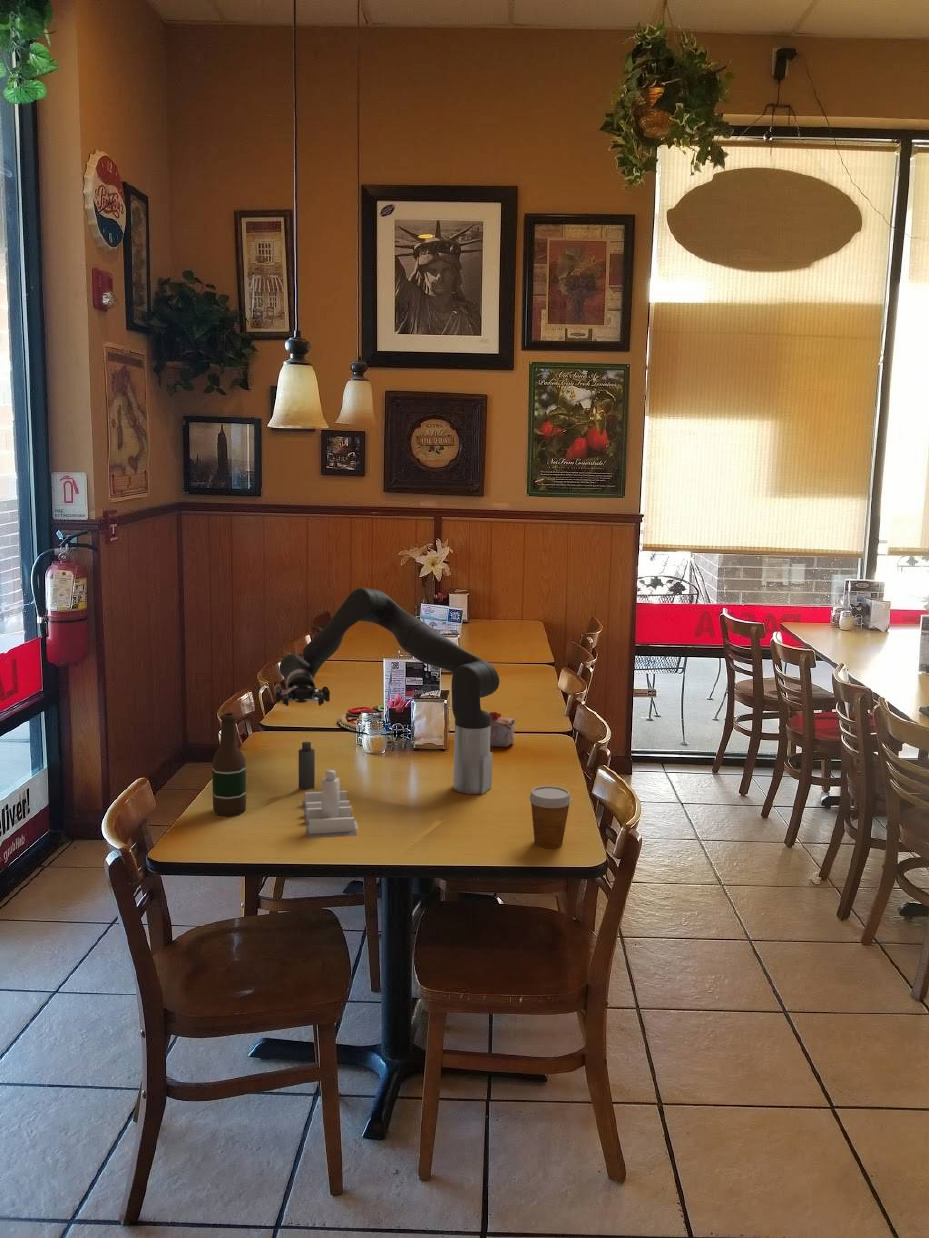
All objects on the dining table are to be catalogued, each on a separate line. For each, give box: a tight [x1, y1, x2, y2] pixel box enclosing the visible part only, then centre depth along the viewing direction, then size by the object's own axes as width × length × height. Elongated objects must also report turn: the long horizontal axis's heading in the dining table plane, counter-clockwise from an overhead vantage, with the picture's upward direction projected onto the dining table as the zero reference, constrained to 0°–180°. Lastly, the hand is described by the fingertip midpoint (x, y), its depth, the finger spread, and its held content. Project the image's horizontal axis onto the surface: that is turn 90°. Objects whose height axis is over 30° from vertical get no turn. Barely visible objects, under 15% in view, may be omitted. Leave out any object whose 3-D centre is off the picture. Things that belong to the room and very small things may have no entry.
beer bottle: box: [211, 712, 247, 818], centre depth 242 cm, size 8×8×24 cm
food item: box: [488, 711, 517, 748], centre depth 304 cm, size 14×8×10 cm, turn 71°
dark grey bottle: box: [298, 741, 316, 790], centre depth 258 cm, size 4×4×13 cm
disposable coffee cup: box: [528, 785, 573, 849], centre depth 229 cm, size 10×10×12 cm
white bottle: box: [321, 769, 340, 819], centre depth 232 cm, size 4×4×13 cm
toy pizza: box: [337, 704, 384, 733], centre depth 325 cm, size 28×28×4 cm
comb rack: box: [301, 790, 359, 839], centre depth 238 cm, size 24×12×4 cm, turn 12°
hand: (303, 702), depth 265 cm, fingers open, 8 cm apart
